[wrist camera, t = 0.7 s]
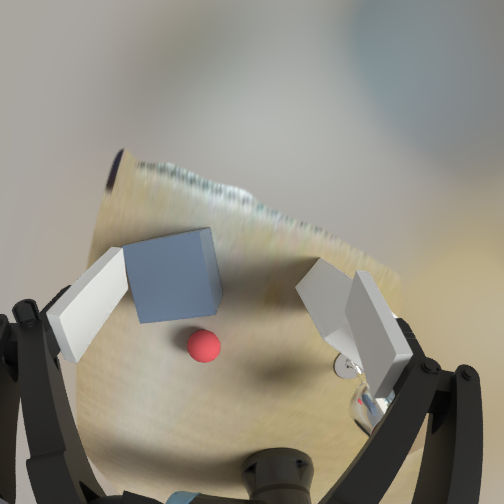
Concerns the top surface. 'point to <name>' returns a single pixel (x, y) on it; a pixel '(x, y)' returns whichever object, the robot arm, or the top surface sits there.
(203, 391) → the top surface
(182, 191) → the top surface
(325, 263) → the milk
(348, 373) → the wineglass
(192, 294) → the blue gray block
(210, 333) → the ball
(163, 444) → the top surface
